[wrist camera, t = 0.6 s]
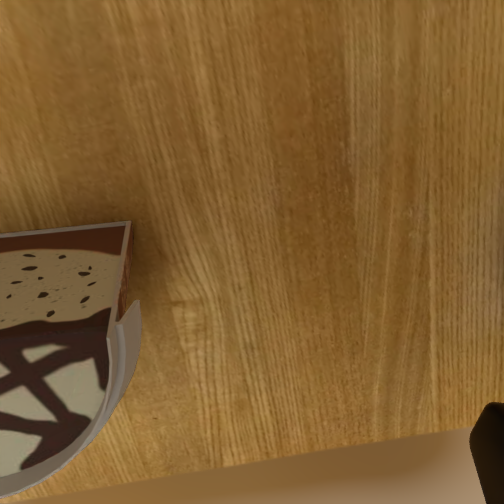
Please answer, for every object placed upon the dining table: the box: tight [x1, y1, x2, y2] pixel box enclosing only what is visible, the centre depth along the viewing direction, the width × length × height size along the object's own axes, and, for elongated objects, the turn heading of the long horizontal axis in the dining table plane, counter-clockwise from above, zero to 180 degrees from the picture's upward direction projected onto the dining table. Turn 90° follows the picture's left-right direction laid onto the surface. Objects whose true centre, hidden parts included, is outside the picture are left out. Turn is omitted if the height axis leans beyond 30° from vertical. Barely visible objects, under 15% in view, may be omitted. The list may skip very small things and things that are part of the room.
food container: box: [0, 220, 142, 499], centre depth 19 cm, size 12×6×10 cm, turn 95°
